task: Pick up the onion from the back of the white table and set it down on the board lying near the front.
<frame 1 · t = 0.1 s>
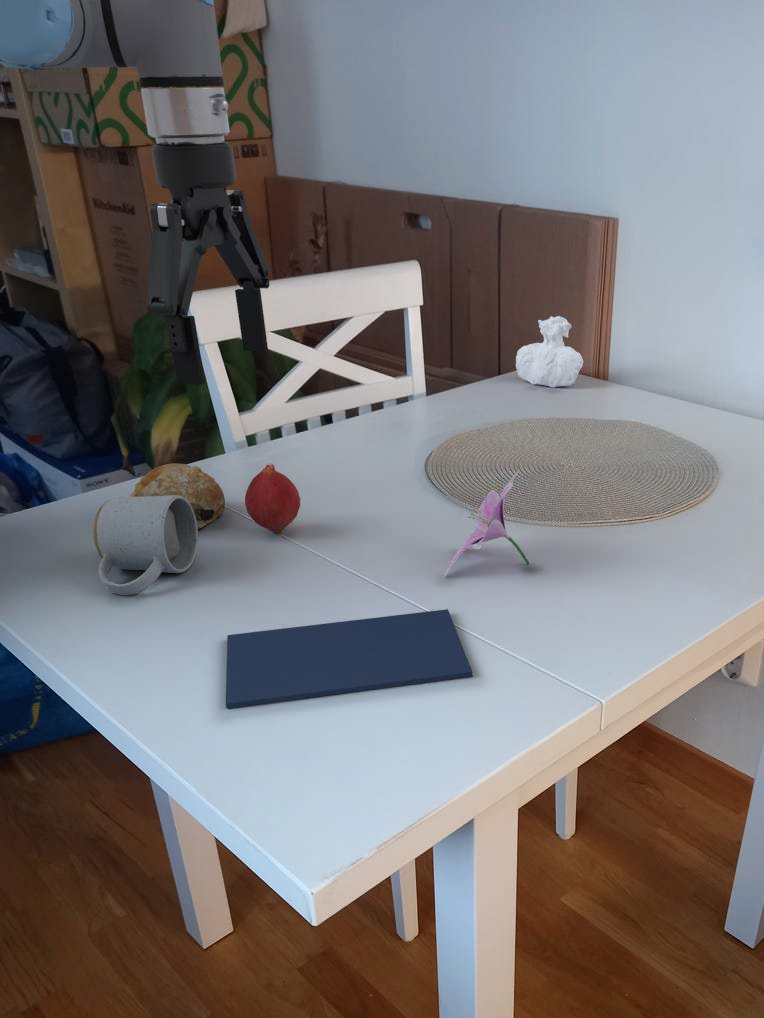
hand: (225, 366, 99), 17 cm above the table, tool pointing down, fingers open, 13 cm apart
ceramic mug: (150, 574, 94), on the table
bread roll: (178, 518, 106), on the table
bust: (550, 383, 152), on the table
lily: (488, 564, 95), on the table
board: (346, 657, 80), on the table
onion: (277, 534, 102), on the table
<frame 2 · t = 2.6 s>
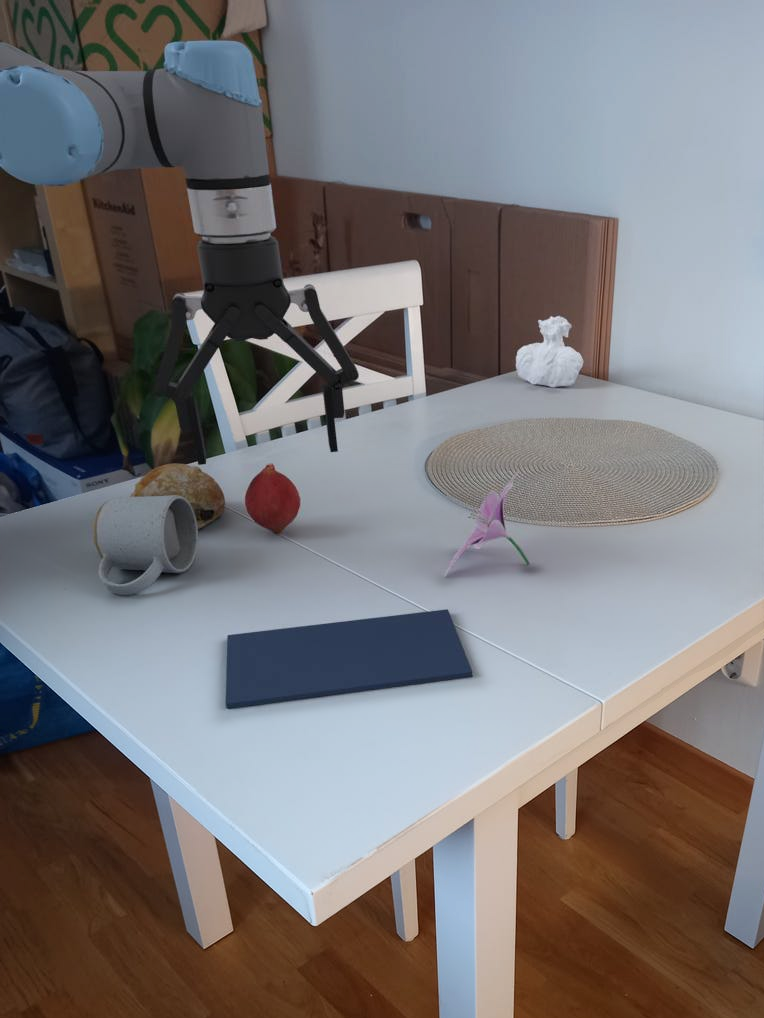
hand: (268, 454, 98), 9 cm above the table, tool pointing down, fingers open, 13 cm apart
nothing on the table moved.
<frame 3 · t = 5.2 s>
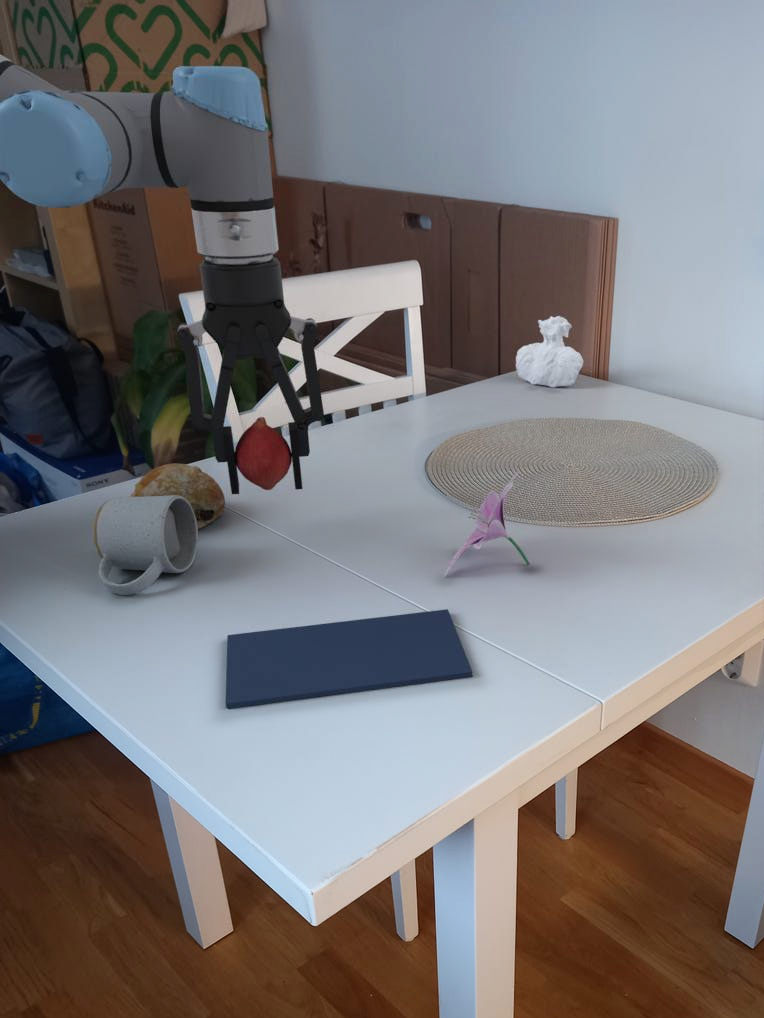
hand: (267, 486, 99), 5 cm above the table, tool pointing down, fingers closed on onion, 6 cm apart
onion: (267, 491, 100), point 5 cm above the table, touching gripper
everything else where it was.
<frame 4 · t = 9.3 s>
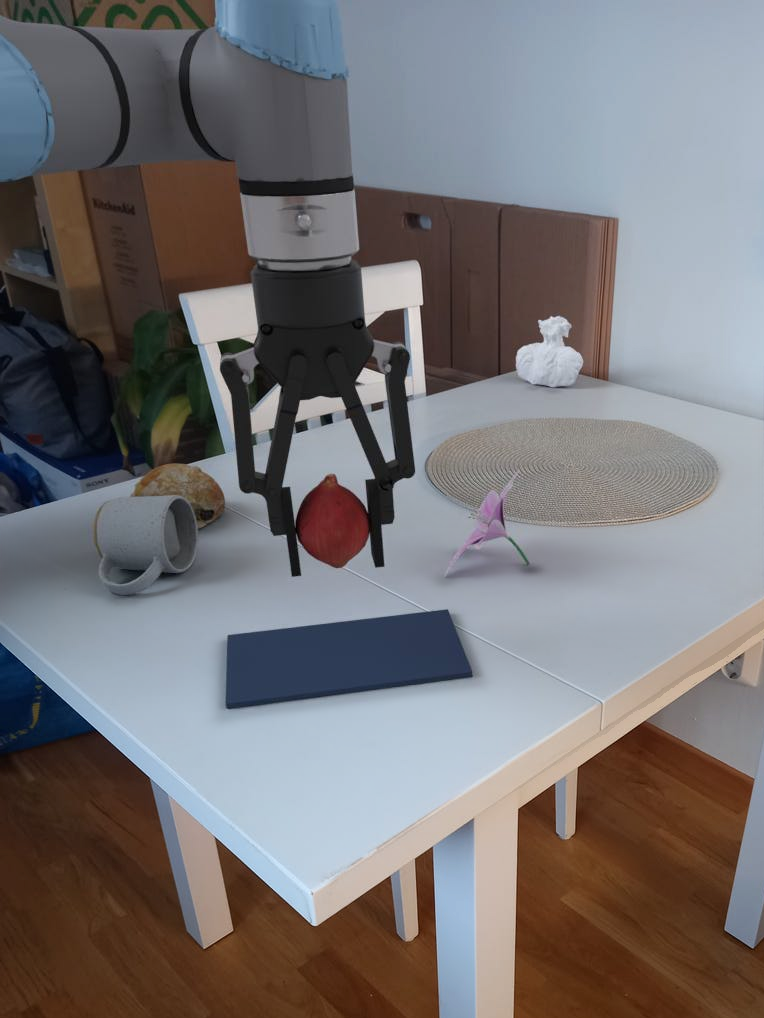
hand: (337, 564, 75), 9 cm above the table, tool pointing down, fingers closed on onion, 6 cm apart
onion: (337, 569, 75), point 8 cm above the table, touching gripper
everything else where it was.
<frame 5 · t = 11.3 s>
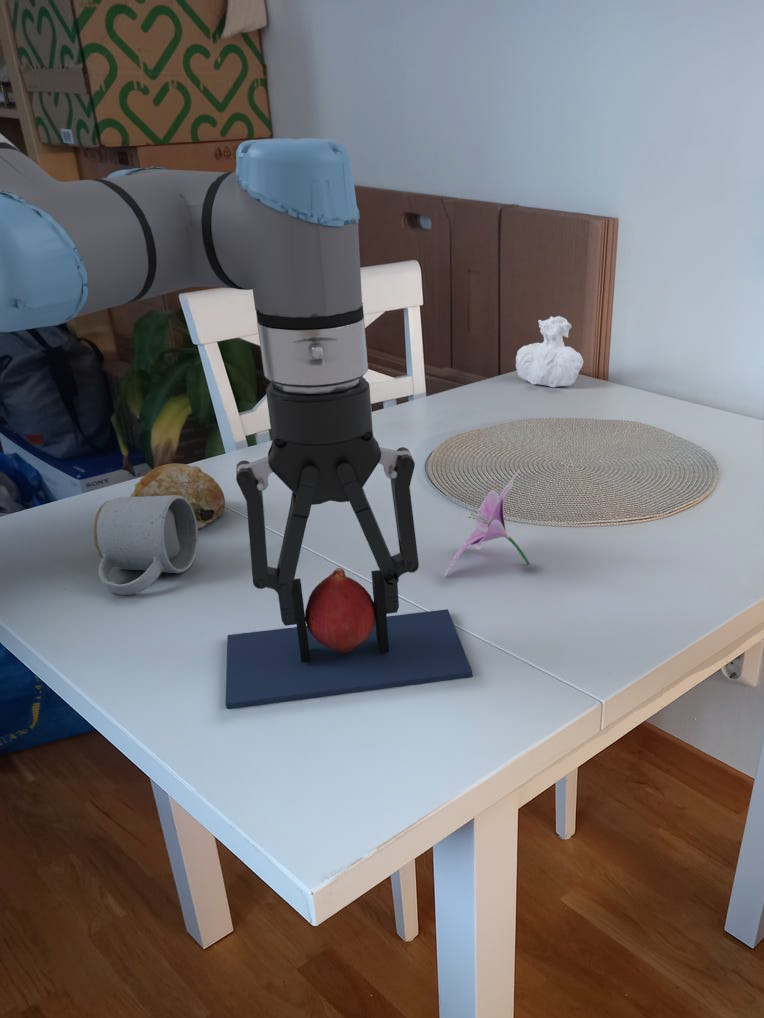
hand: (344, 648, 79), 1 cm above the table, tool pointing down, fingers closed on onion, 6 cm apart
onion: (344, 653, 79), resting on board, touching gripper
everything else where it was.
when the fingers open (1 cm above the table, at t = 13.8 s): onion stays where it is, resting on board.
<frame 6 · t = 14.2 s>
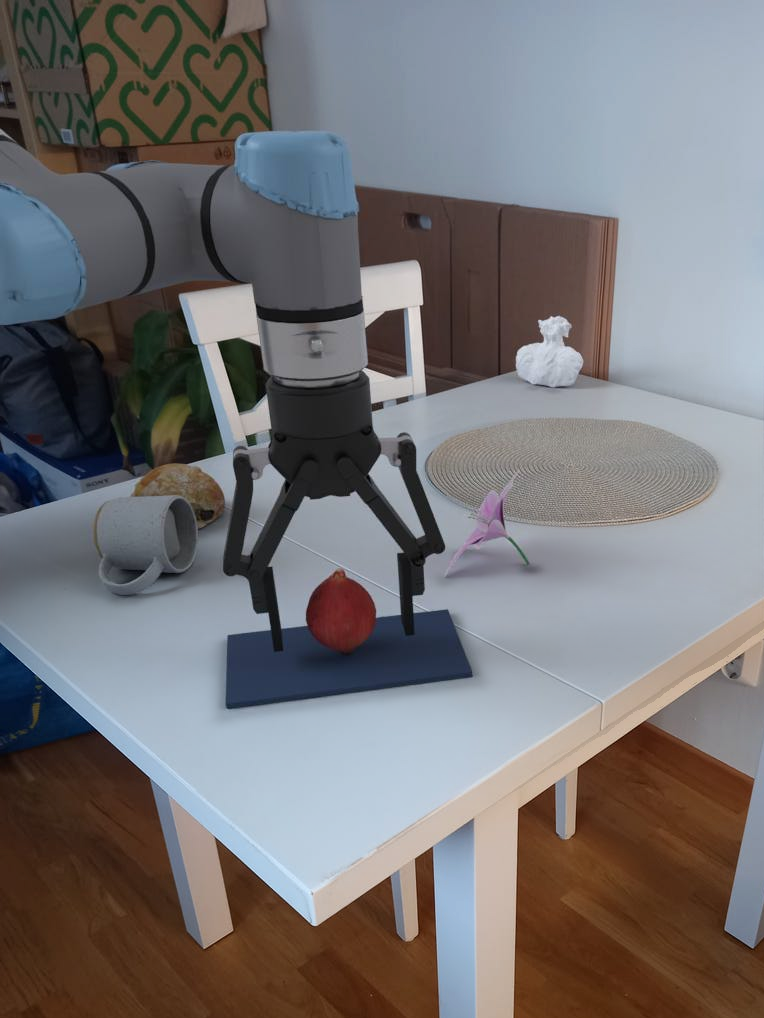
hand: (343, 635, 78), 2 cm above the table, tool pointing down, fingers open, 10 cm apart
onion: (345, 654, 80), resting on board
everything else where it was.
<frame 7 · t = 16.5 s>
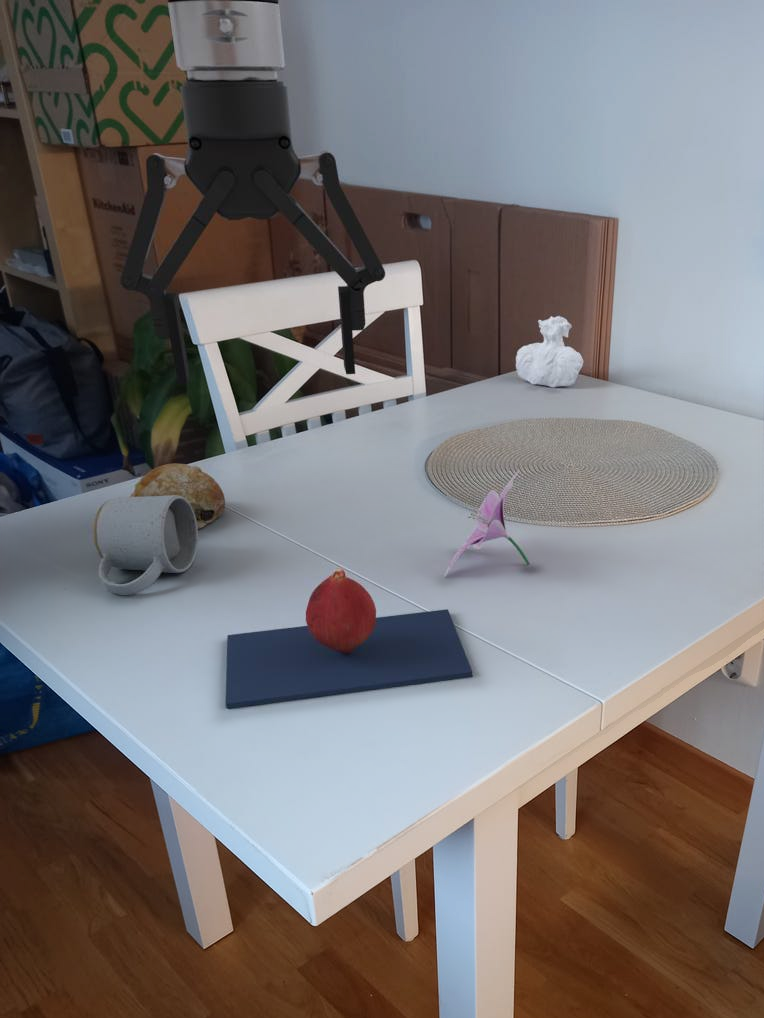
hand: (268, 374, 77), 22 cm above the table, tool pointing down, fingers open, 13 cm apart
nothing on the table moved.
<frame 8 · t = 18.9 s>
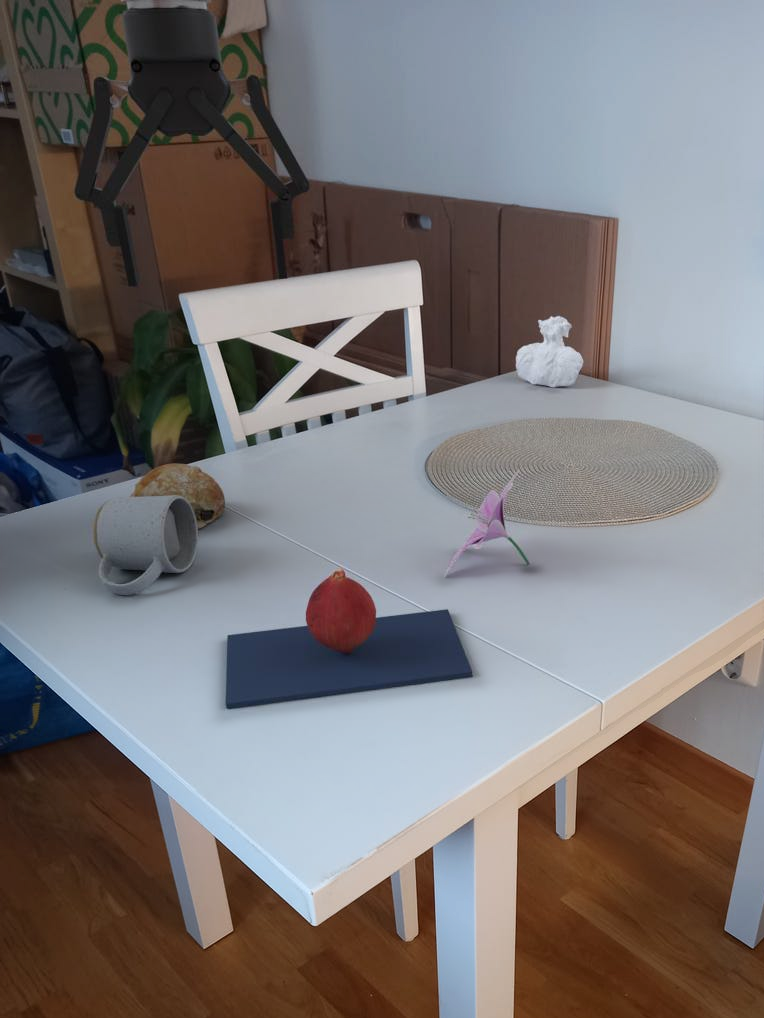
hand: (209, 280, 87), 27 cm above the table, tool pointing down, fingers open, 13 cm apart
nothing on the table moved.
at the end: onion inside the target area on the board (0.0 cm from its centre), point 0.3 cm above the board's base; the gripper is holding nothing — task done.
